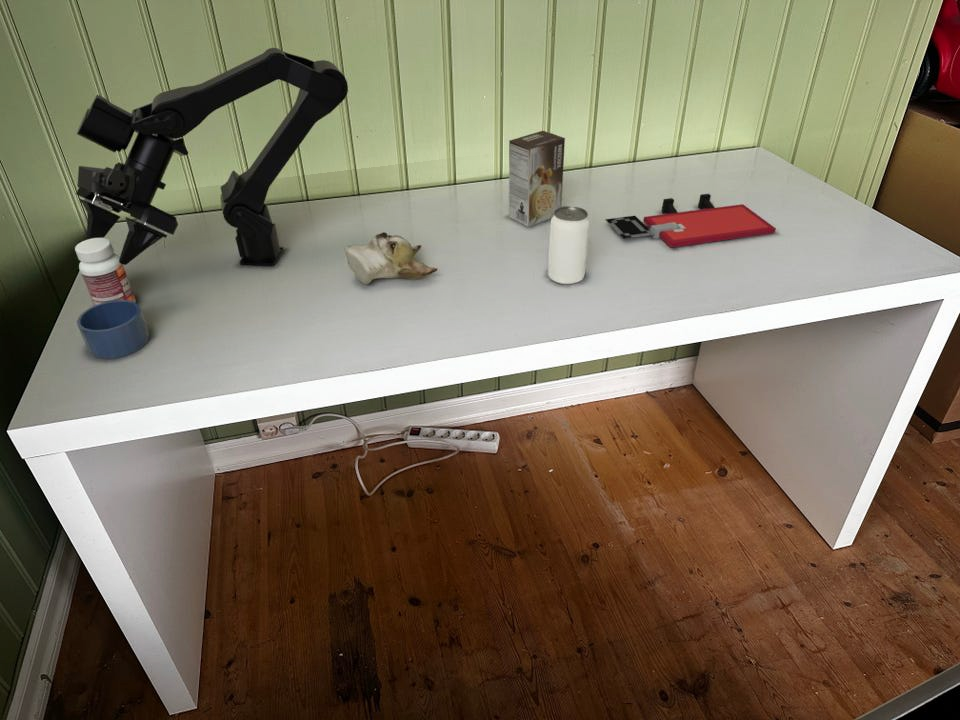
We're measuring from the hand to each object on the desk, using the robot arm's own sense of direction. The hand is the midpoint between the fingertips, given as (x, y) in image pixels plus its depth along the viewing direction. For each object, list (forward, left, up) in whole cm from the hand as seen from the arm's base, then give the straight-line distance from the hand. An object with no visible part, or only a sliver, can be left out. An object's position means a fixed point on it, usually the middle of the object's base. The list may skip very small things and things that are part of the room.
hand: (105, 256), depth 110 cm
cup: (-5, +11, -9) cm, 15 cm away
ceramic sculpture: (-43, -12, -9) cm, 46 cm away
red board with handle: (-98, -35, -9) cm, 105 cm away
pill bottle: (+1, +1, -9) cm, 9 cm away
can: (-74, -14, -9) cm, 76 cm away
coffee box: (-68, -38, -9) cm, 79 cm away
